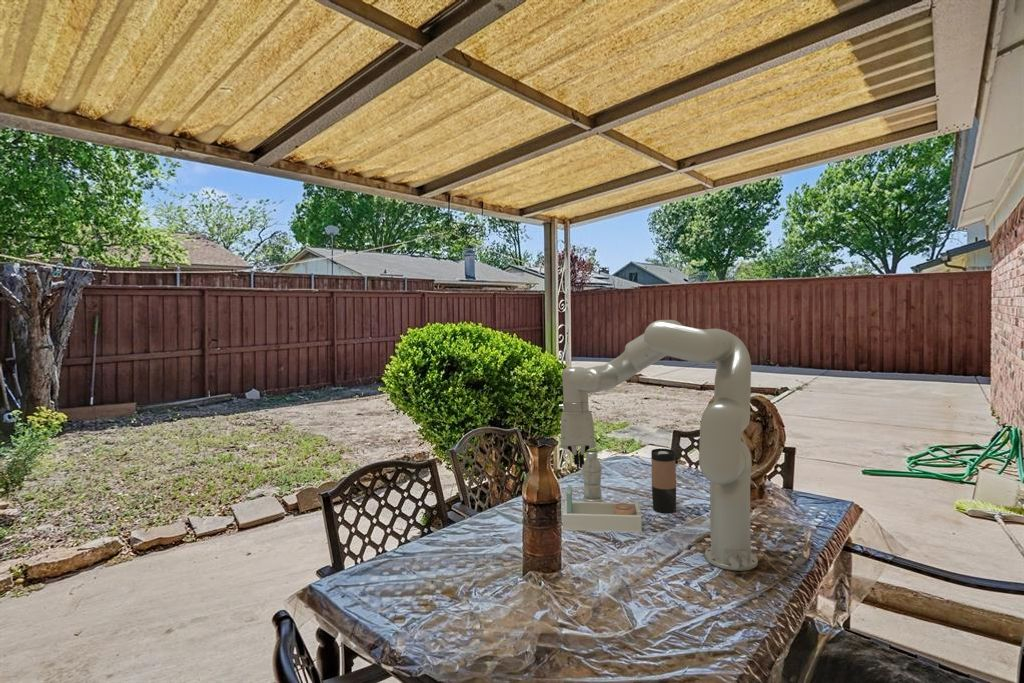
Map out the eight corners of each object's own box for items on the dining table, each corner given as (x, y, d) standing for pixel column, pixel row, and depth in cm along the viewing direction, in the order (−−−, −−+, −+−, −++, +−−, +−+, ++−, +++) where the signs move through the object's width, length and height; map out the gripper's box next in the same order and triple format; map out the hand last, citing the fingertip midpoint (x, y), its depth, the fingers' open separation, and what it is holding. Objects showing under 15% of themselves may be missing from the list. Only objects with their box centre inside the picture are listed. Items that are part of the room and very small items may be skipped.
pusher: (571, 526, 158) (570, 493, 157) (567, 526, 158) (566, 493, 158) (572, 516, 166) (571, 484, 166) (568, 516, 166) (567, 484, 166)
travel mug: (674, 507, 174) (672, 448, 173) (679, 516, 166) (677, 454, 166) (650, 507, 175) (649, 448, 174) (654, 516, 167) (653, 454, 166)
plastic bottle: (603, 515, 169) (601, 454, 168) (582, 514, 170) (580, 453, 170) (603, 508, 175) (602, 449, 175) (583, 507, 177) (582, 448, 176)
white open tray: (641, 534, 153) (641, 513, 153) (563, 532, 156) (562, 511, 156) (638, 519, 165) (637, 499, 165) (565, 517, 168) (564, 498, 168)
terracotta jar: (634, 527, 156) (634, 509, 156) (614, 527, 157) (614, 508, 157) (633, 520, 162) (632, 502, 162) (613, 519, 163) (613, 502, 163)
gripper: (551, 410, 158) (554, 470, 158) (601, 408, 156) (604, 469, 156) (552, 406, 165) (555, 464, 166) (600, 404, 163) (603, 463, 163)
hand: (579, 466), depth 161 cm, fingers closed
